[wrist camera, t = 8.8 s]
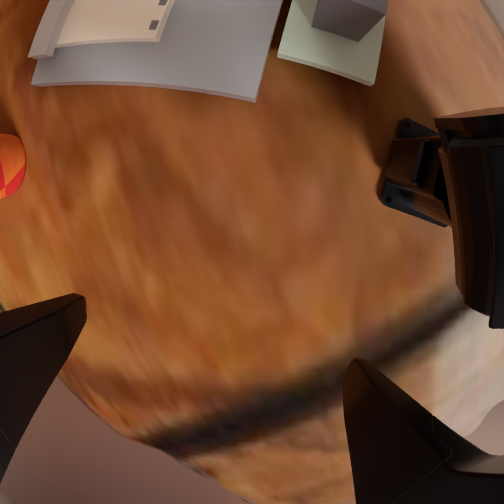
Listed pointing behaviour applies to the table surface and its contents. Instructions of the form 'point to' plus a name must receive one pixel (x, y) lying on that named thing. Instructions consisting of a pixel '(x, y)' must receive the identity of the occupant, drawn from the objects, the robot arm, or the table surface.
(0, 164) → the paper cup
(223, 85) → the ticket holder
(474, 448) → the robot arm
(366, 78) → the gray block on plate
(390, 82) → the table surface
